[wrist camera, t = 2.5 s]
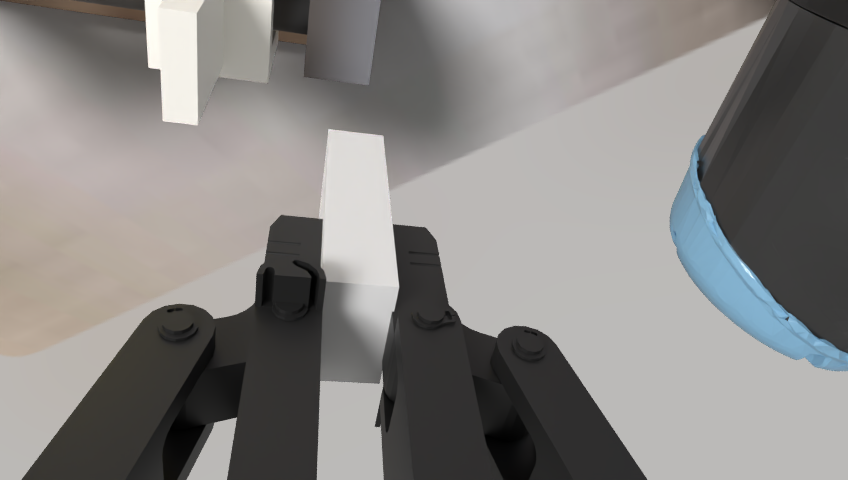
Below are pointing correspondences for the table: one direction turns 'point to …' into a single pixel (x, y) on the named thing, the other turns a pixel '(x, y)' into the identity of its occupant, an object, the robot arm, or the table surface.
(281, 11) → the cord rack
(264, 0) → the sleeve
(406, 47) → the table surface
